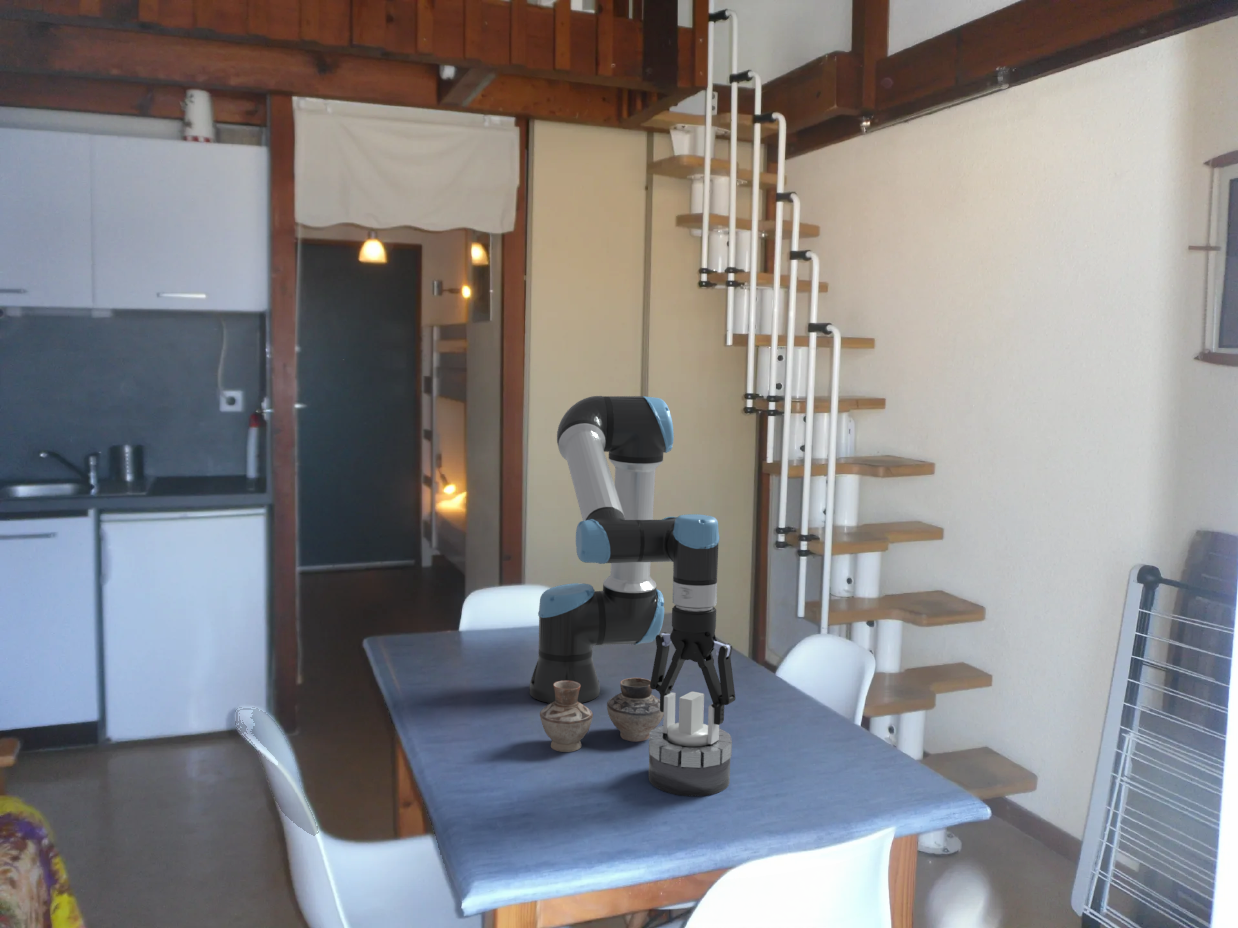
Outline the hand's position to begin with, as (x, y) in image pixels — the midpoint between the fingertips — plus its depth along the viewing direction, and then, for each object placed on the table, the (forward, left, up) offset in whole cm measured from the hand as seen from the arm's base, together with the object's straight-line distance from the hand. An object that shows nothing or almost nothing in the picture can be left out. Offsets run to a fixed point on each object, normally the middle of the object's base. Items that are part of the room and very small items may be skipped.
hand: (690, 735), depth 172 cm
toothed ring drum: (0, 0, -8) cm, 8 cm away
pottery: (-22, +6, -8) cm, 24 cm away
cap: (0, 0, 0) cm, 0 cm away
